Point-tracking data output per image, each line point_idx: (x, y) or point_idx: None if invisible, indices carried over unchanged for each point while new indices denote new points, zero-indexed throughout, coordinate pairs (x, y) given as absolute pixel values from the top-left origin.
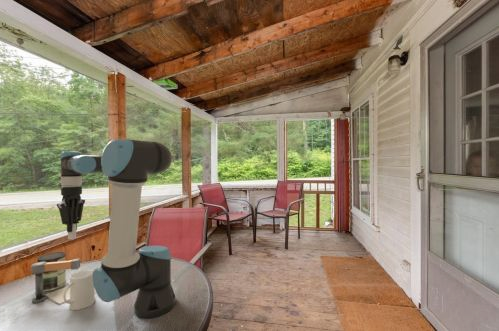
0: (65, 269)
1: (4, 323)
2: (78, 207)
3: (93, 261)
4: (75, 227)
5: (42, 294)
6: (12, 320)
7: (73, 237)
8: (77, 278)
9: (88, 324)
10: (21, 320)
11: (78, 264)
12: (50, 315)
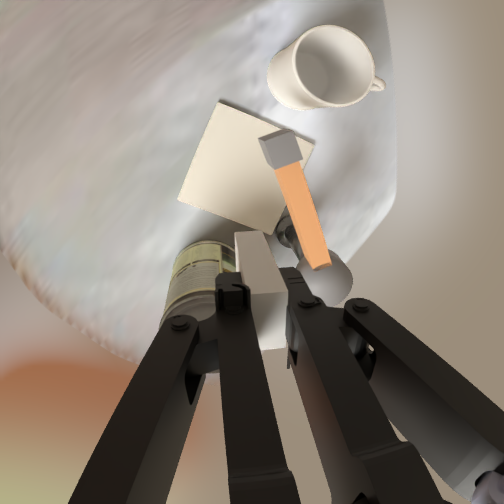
0: (179, 271)
1: (386, 214)
2: (233, 481)
3: (38, 292)
4: (251, 274)
5: (294, 227)
6: (377, 207)
7: (263, 236)
8: (371, 58)
9: (378, 8)
10: (377, 185)
11: (278, 132)
12: (358, 127)
